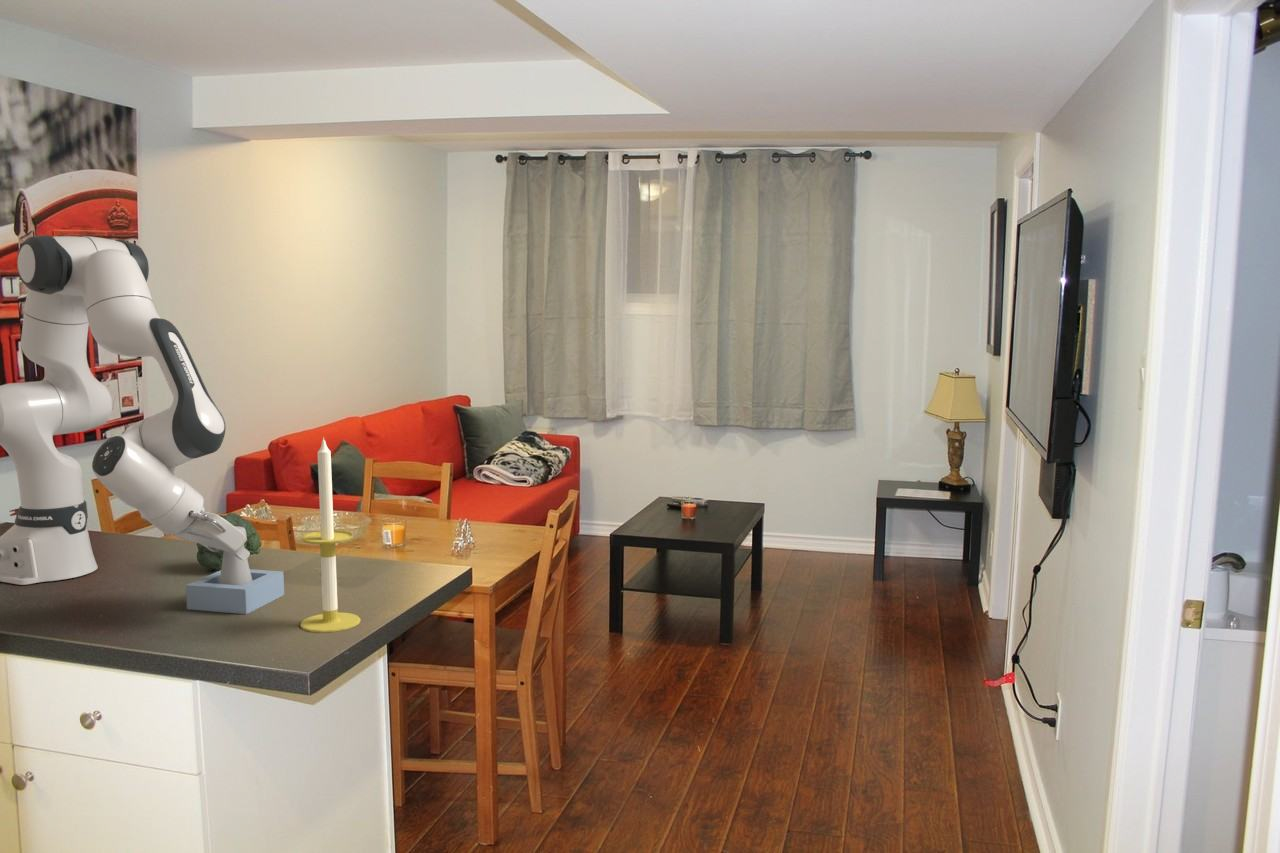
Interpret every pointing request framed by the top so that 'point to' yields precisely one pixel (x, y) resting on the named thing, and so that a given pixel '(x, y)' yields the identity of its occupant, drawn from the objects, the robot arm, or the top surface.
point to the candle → (327, 555)
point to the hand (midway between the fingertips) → (231, 552)
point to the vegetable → (214, 559)
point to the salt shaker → (235, 568)
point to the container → (235, 592)
